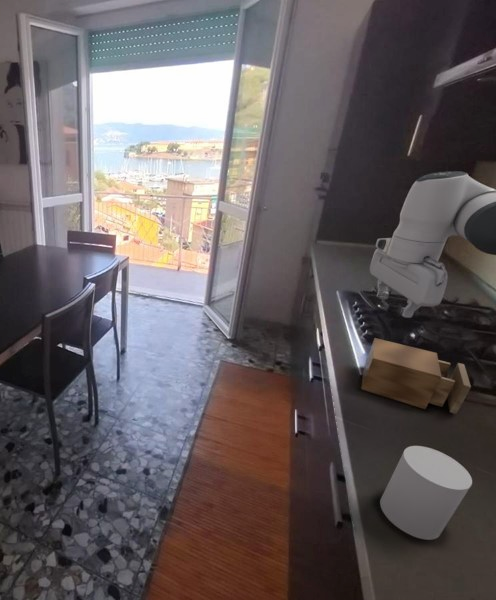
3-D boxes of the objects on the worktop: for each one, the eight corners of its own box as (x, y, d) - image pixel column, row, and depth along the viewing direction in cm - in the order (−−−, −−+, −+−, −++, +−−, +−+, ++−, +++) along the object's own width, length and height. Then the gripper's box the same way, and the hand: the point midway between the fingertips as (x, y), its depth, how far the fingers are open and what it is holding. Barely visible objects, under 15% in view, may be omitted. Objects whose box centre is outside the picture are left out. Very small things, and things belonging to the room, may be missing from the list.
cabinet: (422, 384, 92) (436, 353, 88) (425, 409, 84) (441, 376, 80) (363, 367, 99) (374, 337, 95) (361, 389, 91) (372, 357, 87)
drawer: (457, 391, 88) (471, 366, 85) (463, 416, 81) (478, 389, 77) (393, 373, 95) (403, 349, 92) (393, 394, 88) (404, 368, 84)
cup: (454, 539, 57) (488, 489, 52) (403, 539, 58) (431, 489, 52) (414, 493, 65) (440, 445, 60) (369, 493, 65) (391, 445, 60)
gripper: (467, 266, 68) (439, 329, 74) (401, 238, 86) (383, 290, 92) (430, 265, 69) (405, 327, 75) (373, 237, 87) (356, 289, 93)
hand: (392, 306), depth 83 cm, fingers open, 8 cm apart
